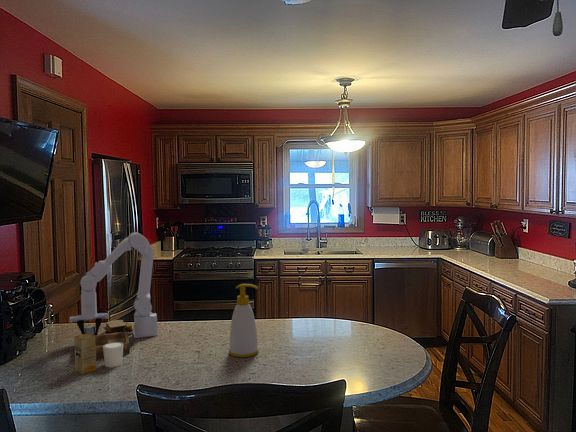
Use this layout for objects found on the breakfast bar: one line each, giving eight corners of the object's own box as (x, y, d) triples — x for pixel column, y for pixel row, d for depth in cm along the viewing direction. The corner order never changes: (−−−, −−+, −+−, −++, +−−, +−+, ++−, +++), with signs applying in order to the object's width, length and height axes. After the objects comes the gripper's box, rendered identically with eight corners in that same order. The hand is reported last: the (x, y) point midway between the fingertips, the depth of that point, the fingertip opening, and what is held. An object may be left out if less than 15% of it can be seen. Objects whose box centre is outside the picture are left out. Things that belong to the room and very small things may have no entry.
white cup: (98, 366, 161) (98, 346, 161) (114, 359, 167) (114, 340, 167) (112, 369, 158) (112, 349, 157) (128, 362, 164) (127, 343, 163)
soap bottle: (254, 359, 166) (253, 287, 165) (224, 357, 168) (223, 286, 167) (262, 348, 177) (261, 281, 176) (234, 346, 179) (233, 280, 178)
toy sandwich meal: (106, 340, 190) (105, 329, 189) (101, 332, 201) (101, 321, 201) (137, 335, 196) (136, 324, 196) (130, 327, 208) (130, 317, 207)
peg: (95, 340, 190) (95, 325, 189) (95, 343, 186) (95, 328, 186) (85, 341, 188) (84, 327, 188) (84, 344, 184) (84, 329, 184)
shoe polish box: (89, 366, 161) (88, 332, 160) (96, 369, 157) (95, 335, 157) (75, 370, 157) (74, 336, 156) (82, 374, 154) (81, 339, 153)
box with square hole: (127, 341, 188) (126, 331, 187) (129, 353, 173) (129, 343, 173) (79, 347, 181) (78, 337, 181) (77, 360, 166) (77, 350, 166)
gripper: (68, 309, 180) (70, 342, 180) (108, 305, 185) (109, 338, 186) (69, 305, 186) (70, 337, 187) (107, 301, 192) (108, 333, 192)
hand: (90, 337), depth 187 cm, fingers closed on peg, 4 cm apart
